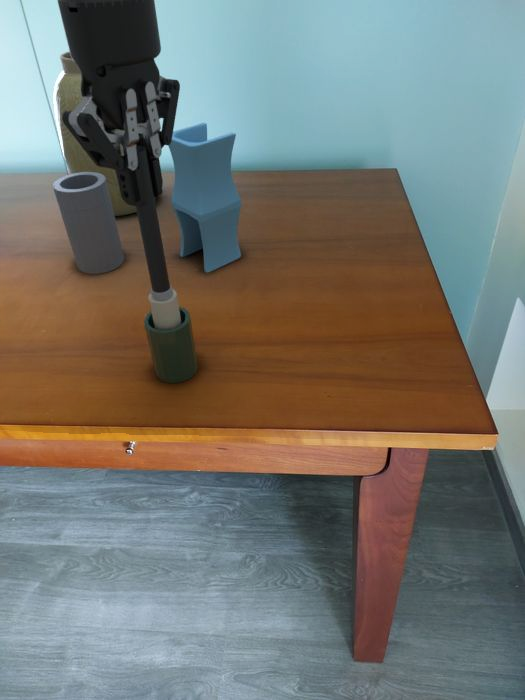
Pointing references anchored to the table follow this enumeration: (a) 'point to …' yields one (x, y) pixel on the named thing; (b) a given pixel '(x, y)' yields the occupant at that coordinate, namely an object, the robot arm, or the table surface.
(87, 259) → the cup
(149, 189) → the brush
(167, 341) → the holder
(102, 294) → the table surface
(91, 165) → the vase
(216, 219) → the blue bent piece
